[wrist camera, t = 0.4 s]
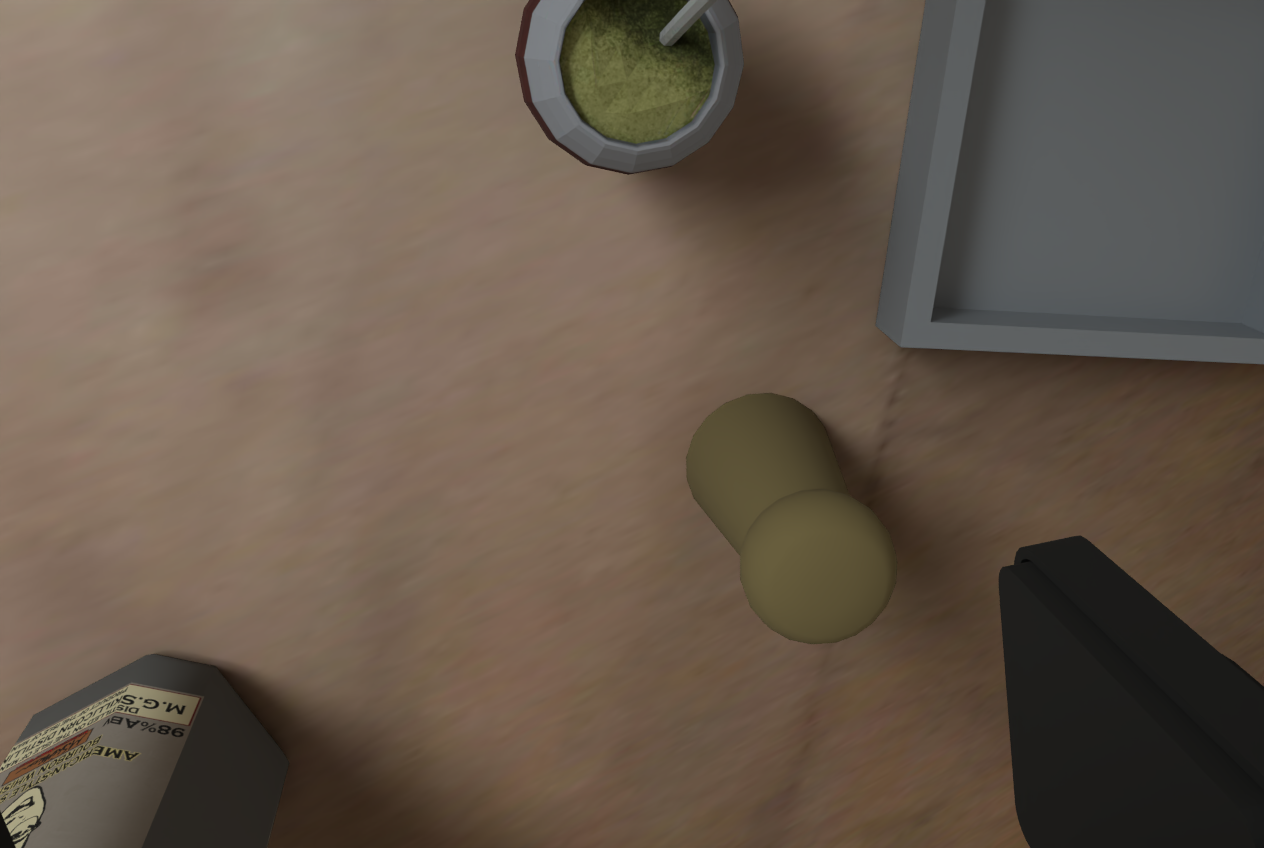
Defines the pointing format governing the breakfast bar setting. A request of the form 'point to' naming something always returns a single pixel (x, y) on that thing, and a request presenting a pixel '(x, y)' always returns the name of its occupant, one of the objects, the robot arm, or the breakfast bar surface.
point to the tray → (1083, 181)
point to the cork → (791, 519)
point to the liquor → (145, 765)
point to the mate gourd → (629, 77)
